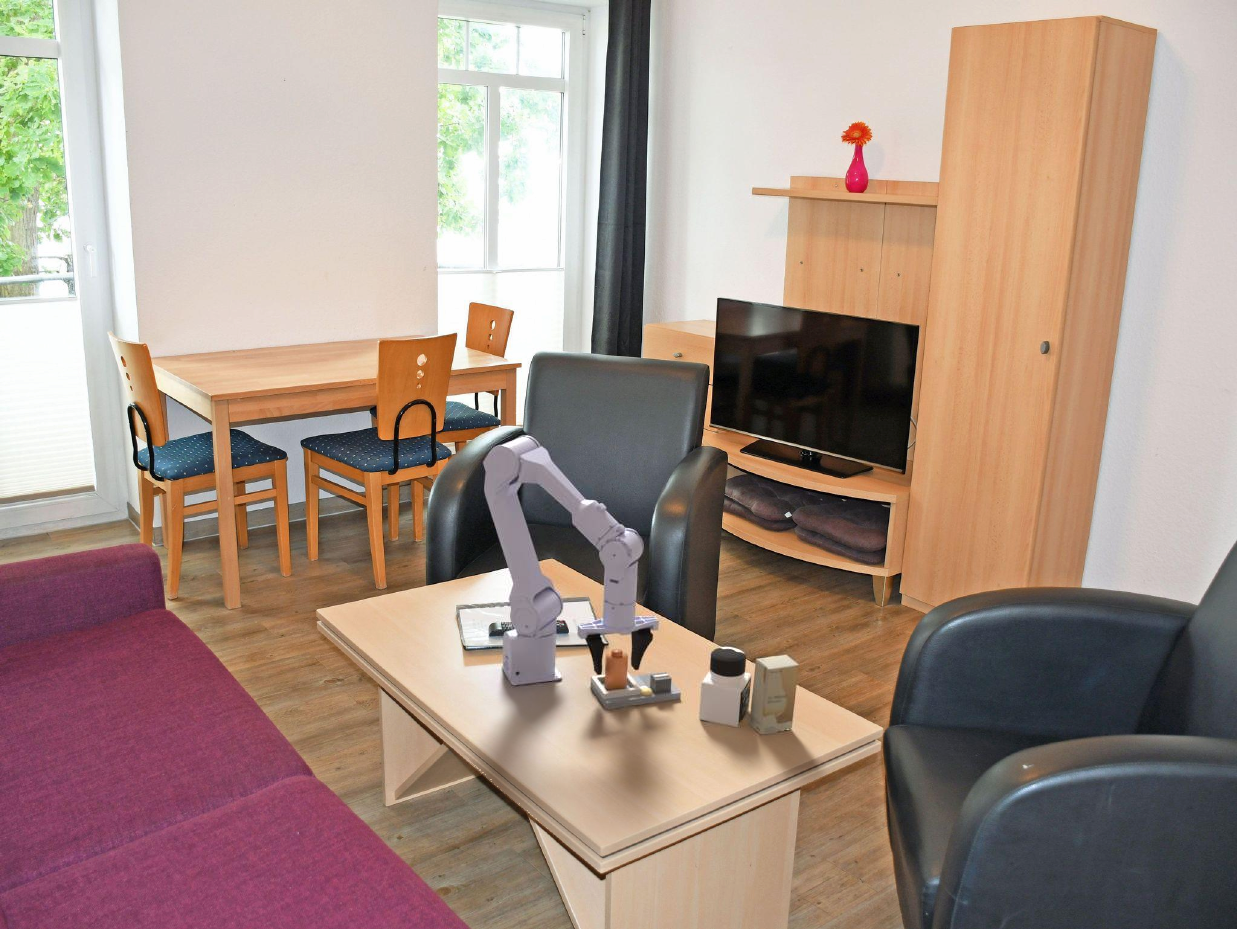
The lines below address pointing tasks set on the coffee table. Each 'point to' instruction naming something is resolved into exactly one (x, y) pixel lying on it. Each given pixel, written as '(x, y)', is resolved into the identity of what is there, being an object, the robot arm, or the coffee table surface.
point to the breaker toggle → (660, 682)
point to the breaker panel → (631, 692)
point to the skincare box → (773, 694)
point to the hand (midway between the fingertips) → (616, 670)
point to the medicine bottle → (725, 688)
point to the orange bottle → (616, 670)
